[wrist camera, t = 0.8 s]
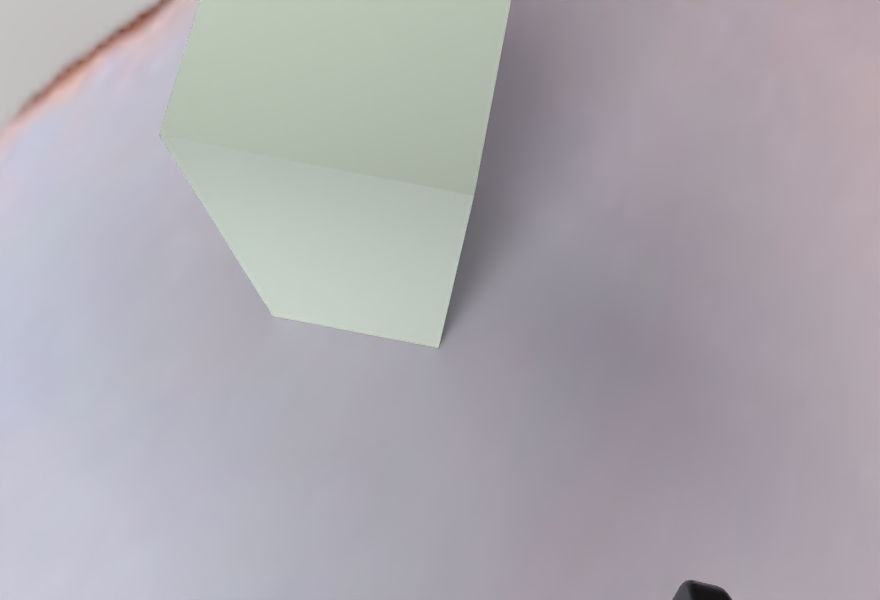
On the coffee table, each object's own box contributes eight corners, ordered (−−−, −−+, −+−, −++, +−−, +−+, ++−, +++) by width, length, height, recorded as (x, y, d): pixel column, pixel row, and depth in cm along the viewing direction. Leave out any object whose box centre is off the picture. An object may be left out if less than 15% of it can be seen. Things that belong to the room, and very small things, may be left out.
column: (438, 348, 24) (474, 195, 13) (272, 316, 24) (159, 134, 13) (468, 193, 26) (524, -72, 14) (310, 163, 26) (238, -127, 14)
